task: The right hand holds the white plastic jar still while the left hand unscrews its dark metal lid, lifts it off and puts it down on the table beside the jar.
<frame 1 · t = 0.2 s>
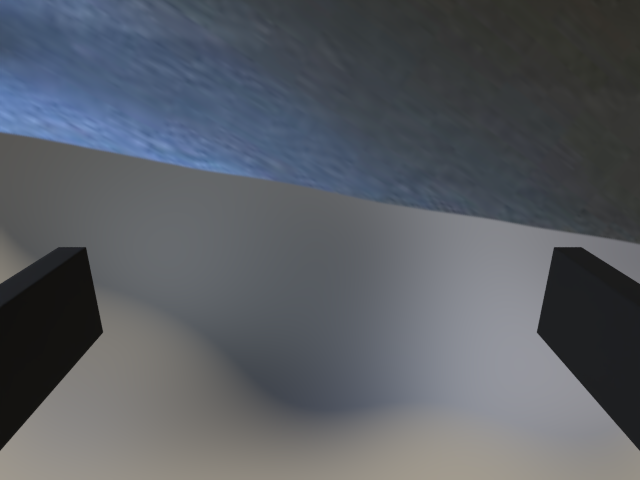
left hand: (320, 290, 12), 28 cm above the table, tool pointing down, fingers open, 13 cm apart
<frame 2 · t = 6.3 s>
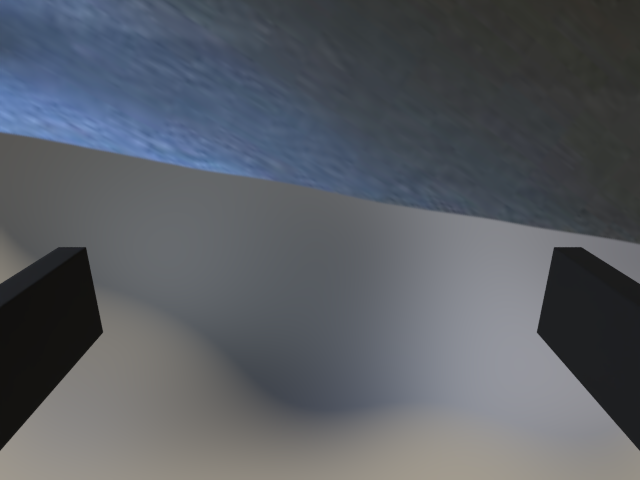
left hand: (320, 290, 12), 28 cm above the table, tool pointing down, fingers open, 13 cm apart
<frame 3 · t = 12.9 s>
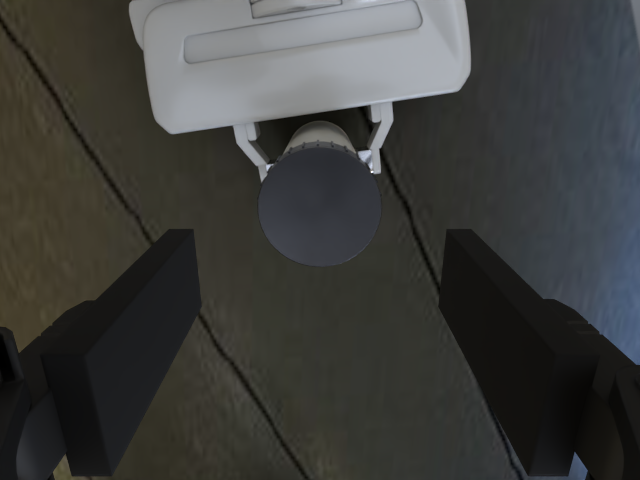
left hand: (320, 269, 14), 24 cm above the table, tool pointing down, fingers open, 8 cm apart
right hand: (322, 180, 30), fingers closed on jar, 5 cm apart
lid: (319, 208, 20), point 16 cm above the table, screwed on, not yet turned
jar: (320, 154, 36), on the table, touching right hand
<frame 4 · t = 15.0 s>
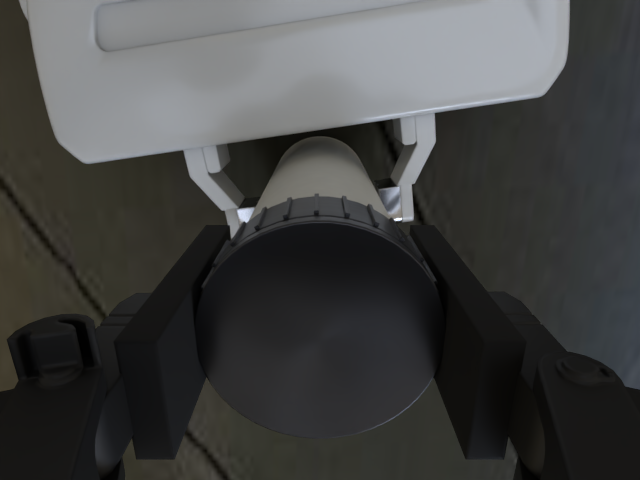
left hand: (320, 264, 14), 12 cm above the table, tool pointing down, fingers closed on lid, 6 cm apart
lid: (320, 332, 10), point 16 cm above the table, screwed on, not yet turned, touching left hand
jar: (320, 182, 26), on the table, touching right hand
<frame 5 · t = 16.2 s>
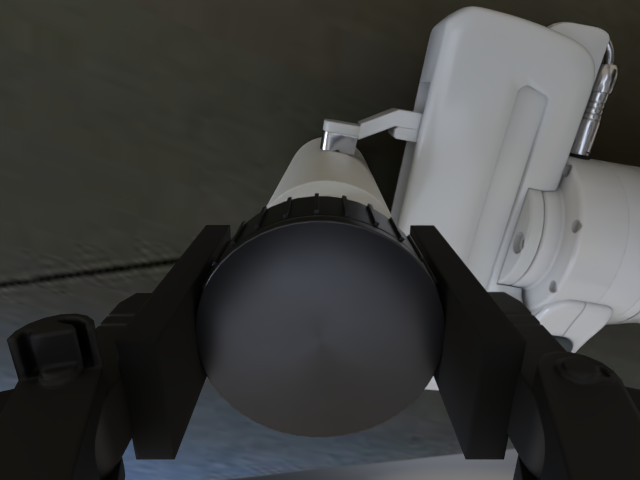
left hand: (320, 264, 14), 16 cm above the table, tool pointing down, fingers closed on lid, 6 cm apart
lid: (320, 331, 10), point 20 cm above the table, off its thread, touching left hand
jar: (328, 176, 29), on the table, touching right hand
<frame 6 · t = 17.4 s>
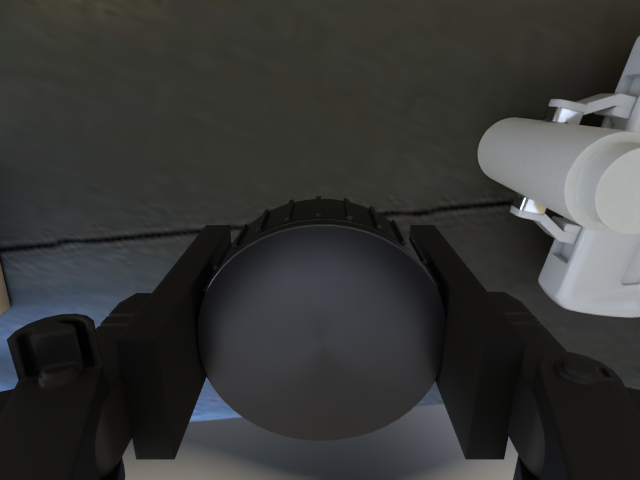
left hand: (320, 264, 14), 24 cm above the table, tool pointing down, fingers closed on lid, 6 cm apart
right hand: (532, 159, 30), fingers closed on jar, 5 cm apart
lid: (322, 335, 10), point 28 cm above the table, off its thread, touching left hand
jar: (509, 150, 36), on the table, touching right hand
when the left hand's fingers open (0 cm above the table, at t = 21.5 s): lid drops 2 cm, point 2 cm above the table.
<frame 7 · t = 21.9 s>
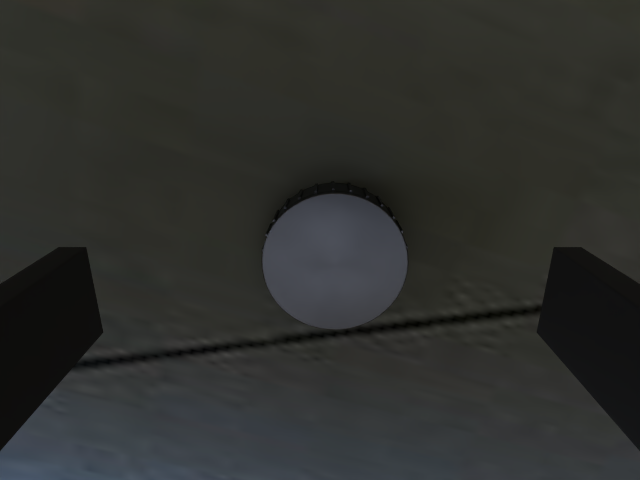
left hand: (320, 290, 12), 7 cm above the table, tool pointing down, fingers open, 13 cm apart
lid: (334, 262, 17), point 2 cm above the table, off its thread
when the right hand's fingers open (6 cm above the table, at t = 22.2 s): jar stays where it is, on the table.
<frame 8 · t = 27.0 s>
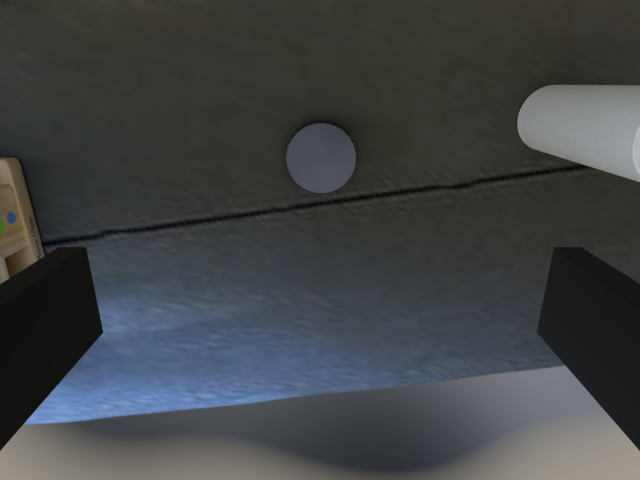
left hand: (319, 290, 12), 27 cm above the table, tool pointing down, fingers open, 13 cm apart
lid: (321, 158, 36), point 2 cm above the table, off its thread
jar: (549, 118, 36), on the table
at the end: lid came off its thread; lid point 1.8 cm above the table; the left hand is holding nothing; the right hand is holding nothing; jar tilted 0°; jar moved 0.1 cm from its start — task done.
